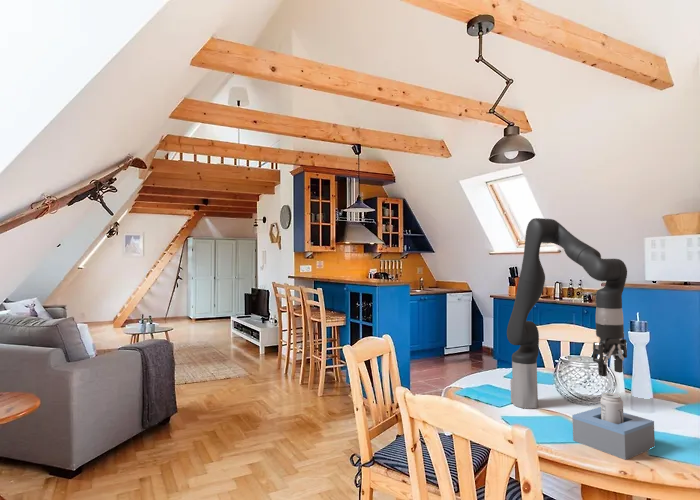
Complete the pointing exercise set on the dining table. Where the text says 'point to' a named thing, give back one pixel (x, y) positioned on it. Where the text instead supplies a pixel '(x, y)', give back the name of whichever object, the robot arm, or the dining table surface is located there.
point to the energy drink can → (612, 408)
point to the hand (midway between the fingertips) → (610, 374)
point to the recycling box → (614, 433)
